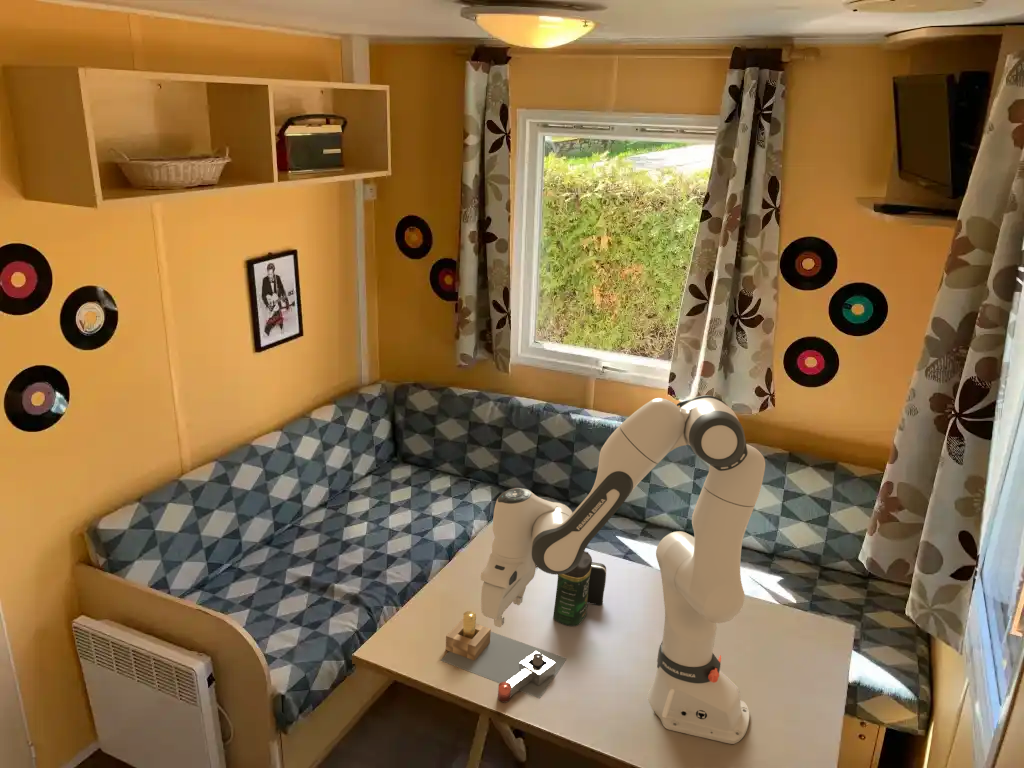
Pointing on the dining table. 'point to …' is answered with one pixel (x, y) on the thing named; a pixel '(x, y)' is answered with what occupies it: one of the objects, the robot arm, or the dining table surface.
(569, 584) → the coffee jar
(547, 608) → the dining table surface
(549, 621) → the dining table surface
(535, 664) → the post
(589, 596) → the battery charger
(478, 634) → the slot block
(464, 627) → the pin
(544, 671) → the knob socket block
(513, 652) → the mat
